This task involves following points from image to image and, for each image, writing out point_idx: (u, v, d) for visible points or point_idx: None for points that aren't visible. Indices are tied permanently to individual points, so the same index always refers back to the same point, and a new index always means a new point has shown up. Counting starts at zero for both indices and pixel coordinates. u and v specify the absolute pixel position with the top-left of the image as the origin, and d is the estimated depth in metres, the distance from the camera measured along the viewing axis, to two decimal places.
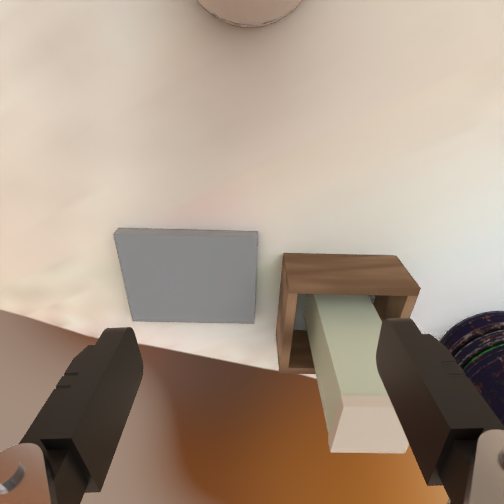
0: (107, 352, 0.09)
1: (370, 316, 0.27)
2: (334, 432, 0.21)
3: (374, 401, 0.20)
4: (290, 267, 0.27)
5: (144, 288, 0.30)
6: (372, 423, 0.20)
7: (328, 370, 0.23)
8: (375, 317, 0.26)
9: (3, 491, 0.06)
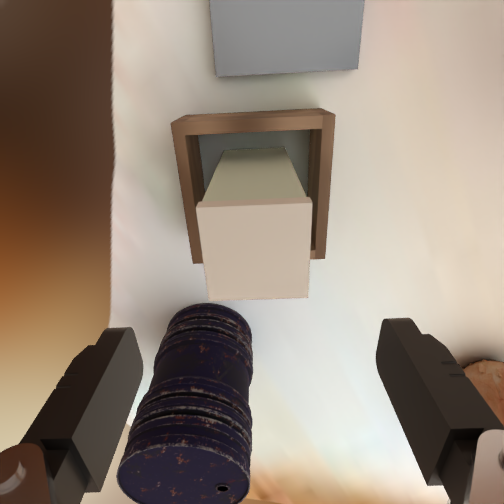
0: (107, 352, 0.09)
1: None
2: (241, 204, 0.14)
3: None
4: None
5: None
6: (274, 247, 0.15)
7: (274, 181, 0.17)
8: None
9: (3, 491, 0.06)
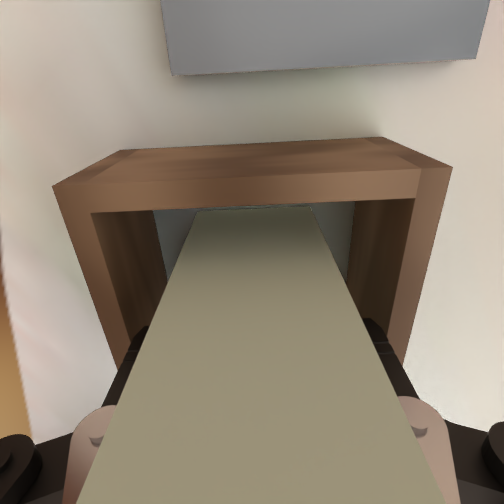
0: None
1: None
2: None
3: None
4: None
5: None
6: None
7: (321, 407, 0.05)
8: None
9: None
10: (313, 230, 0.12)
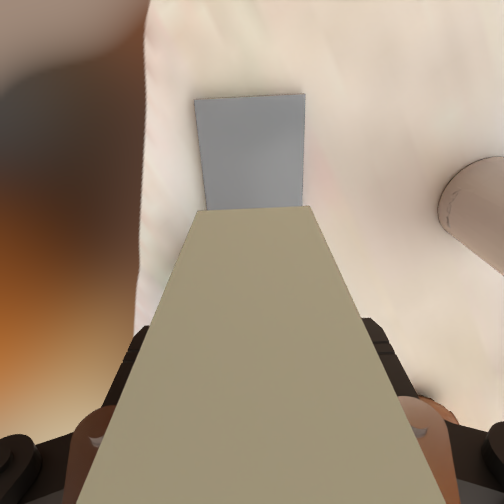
0: None
1: None
2: None
3: None
4: None
5: (242, 119, 0.29)
6: None
7: (321, 406, 0.05)
8: None
9: None
10: (313, 230, 0.12)
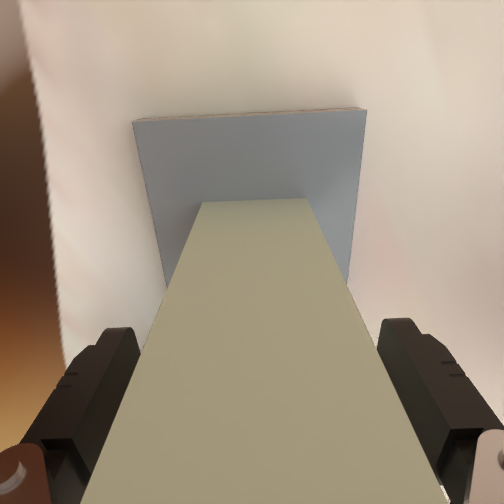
0: (107, 352, 0.09)
1: None
2: None
3: None
4: None
5: (233, 160, 0.14)
6: None
7: (311, 353, 0.07)
8: None
9: (3, 491, 0.06)
10: (309, 218, 0.13)
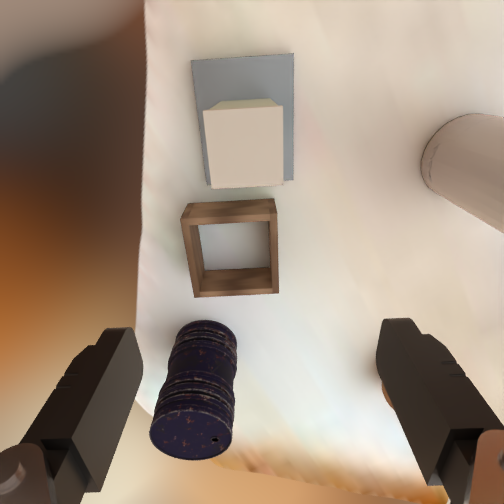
0: (107, 352, 0.09)
1: None
2: (234, 108, 0.21)
3: (282, 138, 0.22)
4: None
5: (235, 78, 0.32)
6: (258, 142, 0.21)
7: (258, 105, 0.24)
8: None
9: (3, 491, 0.06)
10: (268, 99, 0.30)
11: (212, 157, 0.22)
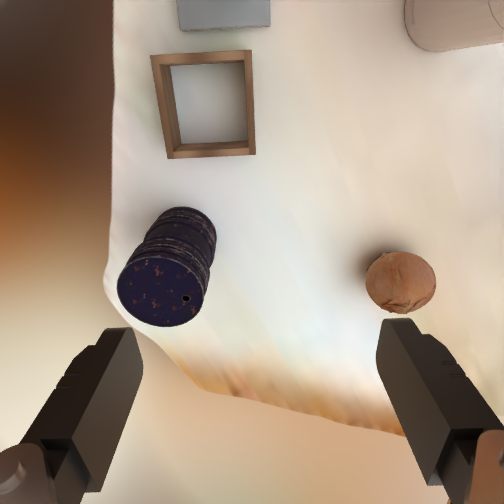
0: (107, 352, 0.09)
1: None
2: None
3: None
4: None
5: None
6: None
7: None
8: None
9: (3, 491, 0.06)
10: None
11: None
